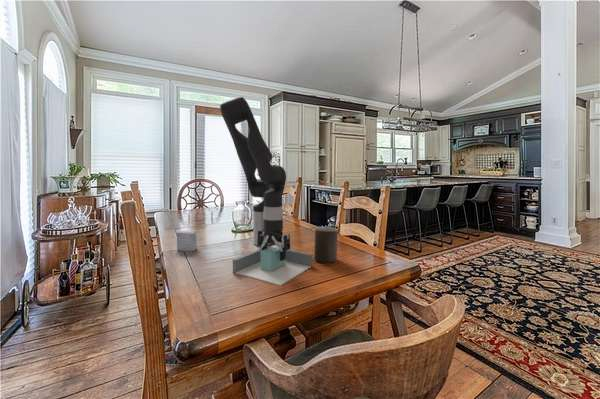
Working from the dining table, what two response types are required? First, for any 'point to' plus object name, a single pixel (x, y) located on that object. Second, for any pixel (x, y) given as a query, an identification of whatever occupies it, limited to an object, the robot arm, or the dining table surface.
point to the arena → (292, 268)
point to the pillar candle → (325, 244)
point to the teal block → (271, 259)
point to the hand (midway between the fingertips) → (273, 258)
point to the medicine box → (186, 241)
